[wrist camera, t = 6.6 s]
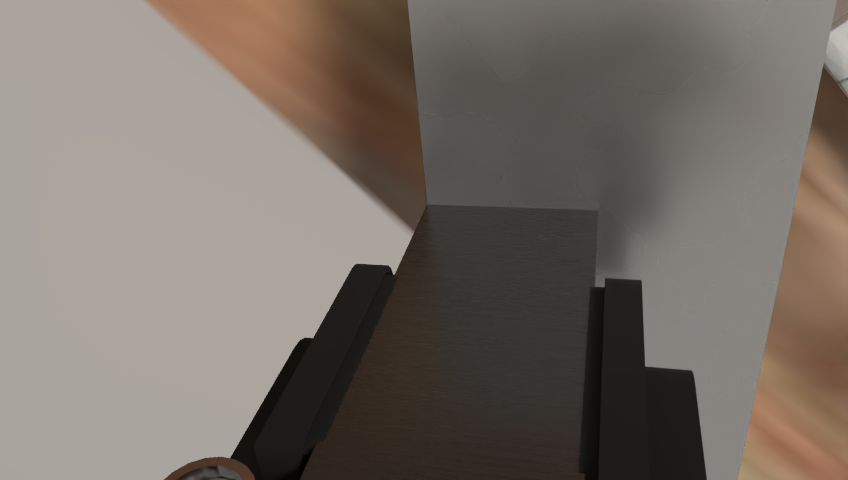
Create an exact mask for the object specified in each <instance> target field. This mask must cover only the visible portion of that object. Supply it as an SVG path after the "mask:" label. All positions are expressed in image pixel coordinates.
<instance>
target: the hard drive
mask: <svg viewBox="0 0 848 480" xmlns="http://www.w3.org/2000/svg"><path fill="white" fill-rule="evenodd" d="M823 67H824V68H825V69H826V70H827V72H828V73H829V74H830V75H831V76H832V77H833V79H834V80H835V81H836V82H837V84H838V86H839V87H840V88H841V90H842V91H843V92H844V93H845V95H846V96H847V97H848V0H837V2H836V6H835V11H834V16H833V21H832V26H831V31H830V35H829V40H828V45H827V50H826V55H825V60H824V64H823Z"/></svg>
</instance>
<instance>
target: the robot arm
mask: <svg viewBox="0 0 848 480" xmlns="http://www.w3.org/2000/svg"><path fill="white" fill-rule="evenodd" d="M397 278H398V276H397V275H393V273H392V270H391V268H390V267H389V266H385V265H367V264H356V265H354V267H353V268H352V270H351V271H350V273H349V275H348V277H347V279H346V280H345V282H344V284H343V286H342V288H341V289H340V291H339V293H338V295H337V297H336V298H335V300H334V302H333V304H332V305H331V307H330V309H329V311H328V313H327V314H326V316H325V318H324V320H323V322H322V323H321V325H320V327H319V329H318V331H317V332H316V334H315V336H314V338H304V339H302V340H300V341H299V342H298V344H297V345H296V346H295V348H294V349H293V351H292V353H291V355H290V356H289V358H288V360H287V362H286V363H285V365H284V367H283V369H282V370H281V372H280V374H279V375H278V377H277V379H276V381H275V382H274V384H273V386H272V387H271V389H270V391H269V392H268V394H267V396H266V398H265V399H264V401H263V403H262V404H261V406H260V408H259V410H258V411H257V413H256V415H255V416H254V418H253V420H252V422H251V423H250V425H249V427H248V428H247V430H246V432H245V434H244V436H243V437H242V439H241V441H240V442H239V444H238V446H237V447H236V449H235V451H234V453H233V454H232V456H231V458H230V459H229V458H225V457H213V458H204V459H201V460H198V461H195V462H191V463H188V464H187V465H185V466H183V467H181V468H180V469H178V470H176V471H174V472H172V473H171V474H170V475H169V476H168V477H167V478H166V479H164V480H300V478H301V476H302V474H303V471H304V469H305V467H306V465H307V463H308V461H309V458H310V456H311V454H312V452H313V450H314V448H315V446H316V443H317V441H319V442H323V441H324V439H325V436H326V434H327V432H328V430H329V428H330V425H331V423H332V421H333V419H334V417H335V414H336V412H337V410H338V408H339V406H340V403H341V401H342V399H343V397H344V395H345V392H346V390H347V388H348V386H349V384H350V381H351V379H352V377H353V375H354V373H355V370H356V368H357V366H358V364H359V362H360V359H361V357H362V355H363V353H364V351H365V348H366V346H367V344H368V342H369V340H370V337H371V335H372V333H373V331H374V329H375V327H376V324H377V322H378V320H379V318H380V316H381V313H382V311H383V309H384V307H385V305H386V302H387V300H388V298H389V296H390V294H391V291H392V289H393V287H394V285H395V283H396V280H397ZM579 473H583V474H585V480H707V476H706V468H705V460H704V452H703V444H702V435H701V427H700V419H699V411H698V403H697V395H696V386H695V379H694V374H693V372H692V370H681V369H669V368H657V367H646V366H645V349H644V324H643V299H642V281H641V280H632V279H615V278H605V287H590V300H589V316H588V331H587V347H586V363H585V379H584V395H583V410H582V426H581V442H580V458H579Z"/></svg>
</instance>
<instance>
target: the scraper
mask: <svg viewBox="0 0 848 480" xmlns="http://www.w3.org/2000/svg"><path fill="white" fill-rule="evenodd" d="M836 2H837V0H408V10H409V20H410V31H411V41H412V51H413V62H414V72H415V82H416V93H417V103H418V113H419V124H420V134H421V144H422V155H423V165H424V175H425V186H426V196H427V206H426V208H425V211H424V213H423V215H422V217H421V219H420V221H419V224H418V226H417V228H416V230H415V232H414V234H413V236H412V239H411V241H410V243H409V245H408V247H407V249H406V252H405V254H404V256H403V258H402V260H401V262H400V265H399V267H398V269H397V271H396V273H395V275H397V276H398V278H397V280H396V283H395V285H394V287H393V289H392V291H391V294H390V296H389V298H388V300H387V302H386V305H385V307H384V309H383V311H382V313H381V316H380V318H379V320H378V322H377V324H376V327H375V329H374V331H373V333H372V335H371V337H370V340H369V342H368V344H367V346H366V348H365V351H364V353H363V355H362V357H361V359H360V362H359V364H358V366H357V368H356V370H355V373H354V375H353V377H352V379H351V381H350V384H349V386H348V388H347V390H346V392H345V395H344V397H343V399H342V401H341V403H340V406H339V408H338V410H337V412H336V414H335V417H334V419H333V421H332V423H331V425H330V428H329V430H328V432H327V434H326V436H325V439H324V441H323V442H319V441H317V443H316V446H315V448H314V450H313V452H312V454H311V456H310V458H309V461H308V463H307V465H306V467H305V469H304V471H303V474H302V476H301V478H300V480H585V474H583V473H579V458H580V442H581V426H582V410H583V395H584V379H585V363H586V347H587V331H588V316H589V300H590V287H605V278H615V279H632V280H641V281H642V299H643V324H644V349H645V366H646V367H657V368H669V369H681V370H692V372H693V374H694V379H695V386H696V395H697V403H698V411H699V419H700V427H701V435H702V444H703V452H704V460H705V468H706V476H707V480H738V475H739V470H740V466H741V461H742V456H743V451H744V446H745V441H746V437H747V432H748V427H749V422H750V417H751V412H752V408H753V403H754V398H755V393H756V388H757V383H758V379H759V374H760V369H761V364H762V359H763V354H764V350H765V345H766V340H767V335H768V330H769V325H770V321H771V316H772V311H773V306H774V301H775V296H776V292H777V287H778V282H779V277H780V272H781V267H782V263H783V258H784V253H785V248H786V243H787V238H788V234H789V229H790V224H791V219H792V214H793V209H794V205H795V200H796V195H797V190H798V185H799V180H800V176H801V171H802V166H803V161H804V156H805V151H806V147H807V142H808V137H809V132H810V127H811V122H812V118H813V113H814V108H815V103H816V98H817V93H818V89H819V84H820V79H821V74H822V69H823V64H824V60H825V55H826V50H827V45H828V40H829V35H830V31H831V26H832V21H833V16H834V11H835V6H836Z"/></svg>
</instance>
